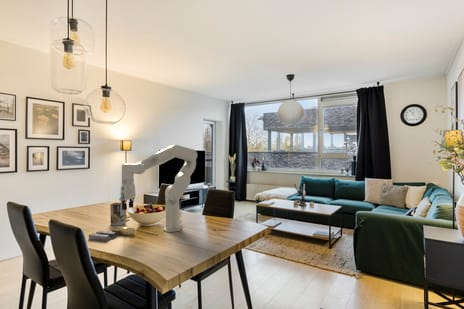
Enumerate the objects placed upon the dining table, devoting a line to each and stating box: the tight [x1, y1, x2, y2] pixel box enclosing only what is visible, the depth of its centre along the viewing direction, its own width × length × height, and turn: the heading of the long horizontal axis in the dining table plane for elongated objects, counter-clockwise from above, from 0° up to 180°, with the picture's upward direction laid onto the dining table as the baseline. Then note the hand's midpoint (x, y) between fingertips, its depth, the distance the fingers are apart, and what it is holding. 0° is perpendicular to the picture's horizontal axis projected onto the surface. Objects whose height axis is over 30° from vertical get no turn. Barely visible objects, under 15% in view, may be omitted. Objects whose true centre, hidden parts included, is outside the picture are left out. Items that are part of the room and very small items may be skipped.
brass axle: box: [114, 226, 136, 237], centre depth 173 cm, size 5×12×5 cm, turn 74°
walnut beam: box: [111, 225, 125, 237], centre depth 175 cm, size 9×5×4 cm, turn 165°
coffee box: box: [110, 202, 127, 227], centre depth 196 cm, size 9×6×16 cm
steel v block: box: [88, 230, 117, 242], centre depth 165 cm, size 9×13×3 cm
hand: (127, 208), depth 173 cm, fingers open, 6 cm apart
